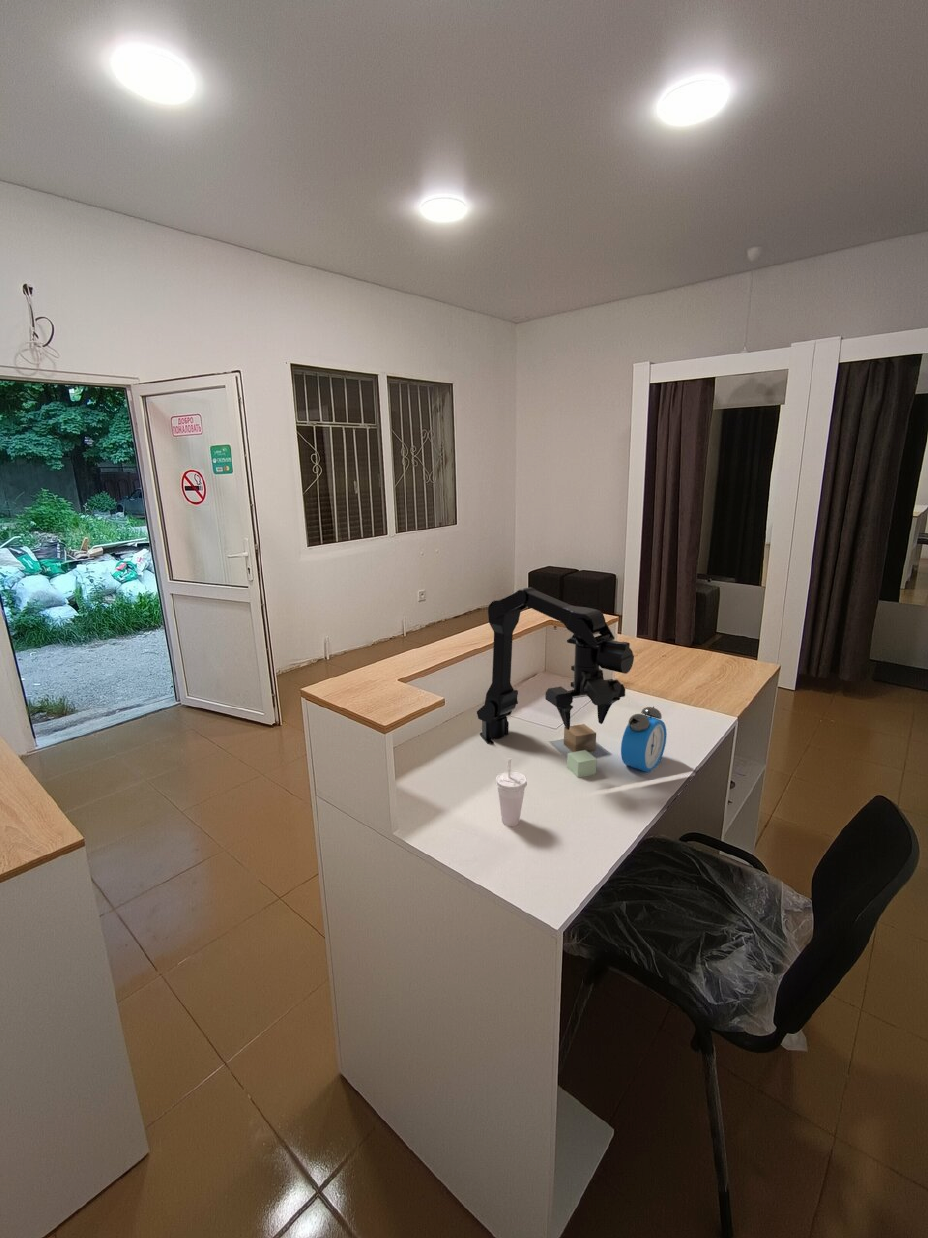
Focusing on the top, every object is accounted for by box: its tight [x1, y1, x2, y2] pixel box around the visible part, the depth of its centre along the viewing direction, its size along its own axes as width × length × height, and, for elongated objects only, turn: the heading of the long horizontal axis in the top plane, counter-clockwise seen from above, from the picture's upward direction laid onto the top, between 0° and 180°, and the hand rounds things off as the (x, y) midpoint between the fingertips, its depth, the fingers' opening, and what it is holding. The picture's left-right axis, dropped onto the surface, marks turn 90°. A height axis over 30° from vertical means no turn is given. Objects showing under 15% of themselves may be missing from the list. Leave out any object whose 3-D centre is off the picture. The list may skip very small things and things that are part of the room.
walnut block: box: [563, 723, 597, 752], centre depth 148 cm, size 6×6×5 cm
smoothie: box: [495, 757, 528, 827], centre depth 116 cm, size 6×6×14 cm
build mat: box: [548, 738, 612, 759], centre depth 149 cm, size 12×12×1 cm
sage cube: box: [566, 750, 598, 778], centre depth 136 cm, size 5×5×5 cm
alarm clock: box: [620, 706, 668, 773], centre depth 138 cm, size 13×6×15 cm, turn 137°
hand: (584, 726), depth 135 cm, fingers open, 9 cm apart
